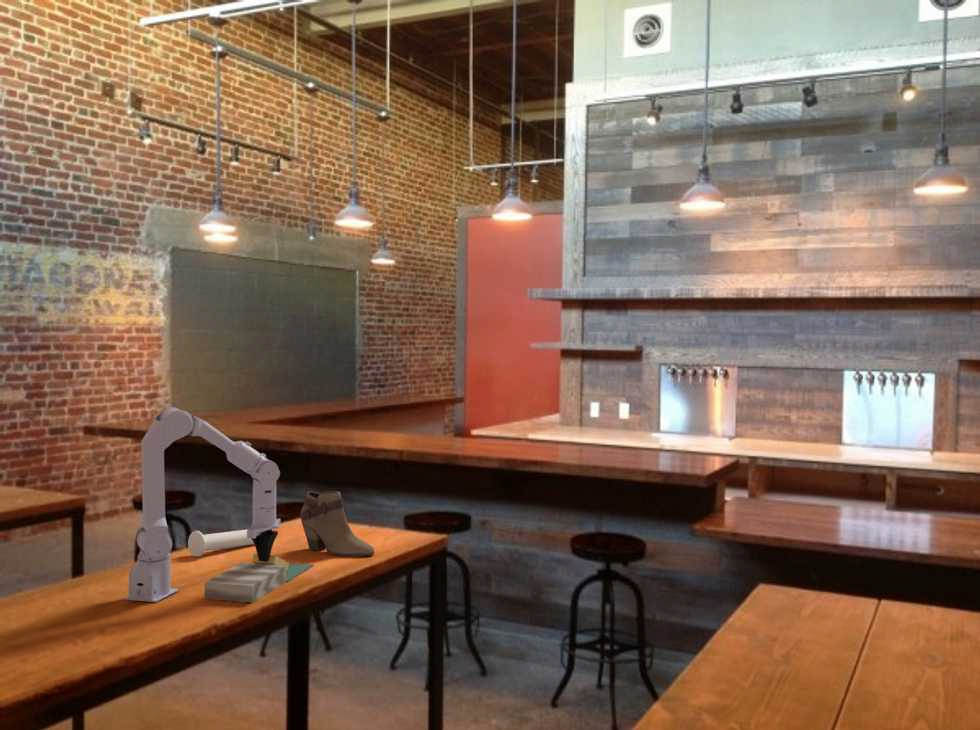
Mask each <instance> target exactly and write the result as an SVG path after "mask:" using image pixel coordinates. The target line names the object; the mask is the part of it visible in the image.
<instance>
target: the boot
mask: <svg viewBox="0 0 980 730" xmlns="http://www.w3.org/2000/svg"><path fill="white" fill-rule="evenodd" d="M344 509H345V508H344V501H343V497H342V494H341V492H340V491H336V490H335V491H327V492H326V491H325V493H321V492H316V491H307V492H306V495H305V498H304V501H303V506H302V508H301V511H300V515H299V518H300V522H301V525H302V529H303V532H304V535H305V538H306V541H307V545H308V549H309V550H310V551H316V552H321V551H324V550H326V552H327V553H328V554H330V555H331V556H332V555H333V556H341V557H347V558H348V557H349V558H350V557H353V558H358V557H360V558H361V557H370V556H373V555H374V554H375V548H374V546H373V545H371V544H369V543H368V542H365V541H364V540H362V539H360V538H359V537H358V536H356V535H355V533H354V532H353V531H352V529H351V527H350V525H349V522H348V521H347V516H346V513H345V512H346V511H345V510H344Z"/></svg>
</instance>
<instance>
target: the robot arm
mask: <svg viewBox="0 0 980 730" xmlns="http://www.w3.org/2000/svg"><path fill="white" fill-rule="evenodd" d="M146 431H147V432H146V433H145V435H144V437H143V438H142V440H141V442H140V443H141V447H140V448H141V484H142V485H141V489H142V490H141V491H142V492H141V494H142V518H141V521H140V529H139V532H138V534H137V536H136V543H137V547H139V549H140V551H139V553H138V554H137V559H136V563H135V564H134V565H133V566H132V567H131V568H130V569H129V573H128V596H126V597H125V598H124V599H125V601H137V602H146V603H147V602H150V603H157V602H159V601H160V600H161V601H162V600H163V599H165V598H166V597H169V596H171V595H173V594H175V593H177V592H178V591H179V589H178V588H171V551H172V548H173V541H172V538H171V537H170V535H169V532H168V531H169V530H168V523H167V519H166V493H165V492H166V490H165V489H166V488H165V487H166V486H165V484H166V483H165V450H166V449H167V448H168V447H170V445H171V444H173V442H175V441H178V440H179V439H182V438H184V437H186V436H187V435H189V436H192V437H201V438H203V439H204V440H206V441H207V442H209V443H210V444H212V445H214V446H216V447H217V448H219V449H221V450H222V451H223V452H225V454H226V459H227V461H228V462H230V463H232V464H233V466H235V467H237V468H238V469H240V470H241V471H243V472H245V473H246V474H249V475H250V476H251V478H252V479H253V480H252V481H253V482H252V523H251V525H250V527H249V528H248V529H249V530H247V529H246V530H247V538H251V539H252V541H253V542H254V544H253V545H254V547H255V550H256V553H257V555H258V559H259V561H264V562H267V561H269V558H270V555H271V554H272V549H273V546H274V542H275V541H276V539H277V537H278V535H279V531H278V530H277V529H279V528H281V518H277V480H279V478H280V477H281V476H280V475H281V471H280V469H279V466H278V464H277V463H276V462H275V461H272V460H270V459H268V458H267V455H266V454H265V453H263V452H262V453H260V452H259V451H257V450H256V449H254V448H253V447H252V443H251V442H249V441H245V442H244V441H243V440H238V441H233V440H231V438H229V437H227V436H226V435H225V434H223V433H222V432H221V431H219V430H218V429H216V428H215V427H214V426H212V425H211V424H209V423H208V422H207V421H205V420H204V419H202V418H199V417H198V416H195V415H193V414H191V413H189V412H188V411H186V410H181V409H180V408H179V407H173V406H172V407H170V406H169V407H168V408H165V409H162V411H161V412H160V413H158V414H156V415H155V416H154V419H153V420H152V423H151V425H149V428H148V430H146ZM274 529H276V530H274Z"/></svg>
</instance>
